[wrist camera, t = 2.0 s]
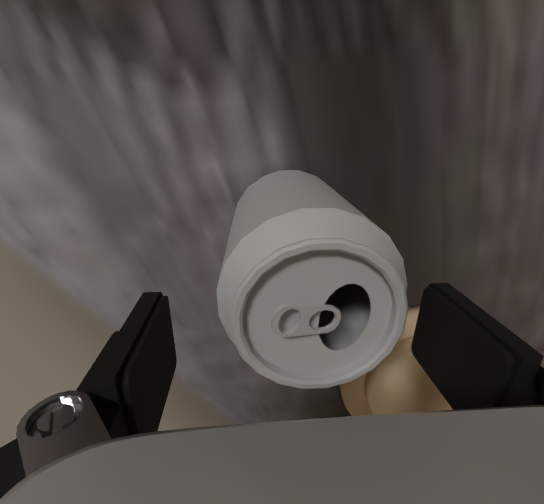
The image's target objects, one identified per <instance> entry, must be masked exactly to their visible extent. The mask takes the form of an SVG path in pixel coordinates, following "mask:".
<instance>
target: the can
mask: <svg viewBox="0 0 544 504" xmlns="http://www.w3.org/2000/svg"><path fill="white" fill-rule="evenodd" d="M406 289H407V280H406V274H405V268H404V262H403V258H402V257H401V255H400V253H399V252H398V250H397V248H396V247H395V245H394V243H393V242H392V240H391V239H390V237H389V235H387V234H386V233H385V232H384V231H383V230H381V229H380V228H379V227H378V226H377V225H375V224H374V223H373V222H372V221H371V220H369V219H368V218H367V217H366V216H365V215H363V214H362V213H361V212H360V211H359V210H357V209H356V208H355V207H354V206H353V205H351V204H350V203H349V202H348V201H347V200H345V199H344V198H343V197H342V196H341V195H339V194H338V193H337V192H336V191H335V190H333V189H332V188H331V187H330V186H328V185H327V184H326V183H325V182H323V181H322V180H321V179H319V178H318V177H317V176H315V175H312V174H309V173H306V172H302V171H299V170H280V171H277V172H274V173H271V174H268V175H265V176H263V177H261V178H260V179H259V180H257V181H256V182H255V183H253V184H252V185H251V186H249V187H248V188H247V190H246V191H245V192H244V194H243V195H242V197H241V198H240V200H239V201H238V203H237V207H236V210H235V214H234V217H233V221H232V225H231V230H230V234H229V238H228V243H227V247H226V251H225V256H224V260H223V264H222V269H221V273H220V277H219V281H218V286H217V301H218V314H219V318H220V320H221V322H222V324H223V326H224V328H225V330H226V332H227V334H228V336H229V339H230V340H231V341H232V342H233V343H234V344H235V345H236V347H237V349H238V351H239V353H240V355H241V357H242V358H243V359H244V360H245V361H246V362H247V363H248V364H249V365H250V366H251V367H252V368H253V369H254V370H255V371H256V372H257V373H258V374H260V375H262V376H264V377H266V378H268V379H270V380H272V381H274V382H276V383H278V384H281V385H286V386H291V387H296V388H301V389H313V388H329V387H333V386H336V385H340V384H343V383H347V382H350V381H353V380H355V379H356V378H358V377H360V376H362V375H363V374H365V373H367V372H369V371H371V370H372V369H374V368H375V367H376V366H377V365H378V364H379V363H380V362H381V361H382V360H383V359H384V358H386V357H387V356H388V355H389V354H390V353H391V352H392V350H393V348H394V347H395V345H396V343H397V342H398V340H399V338H400V336H401V335H402V333H403V331H404V327H405V322H406V317H407V312H408V302H407V296H406Z"/></svg>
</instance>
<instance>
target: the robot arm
mask: <svg viewBox="0 0 544 504" xmlns="http://www.w3.org/2000/svg"><path fill="white" fill-rule="evenodd" d="M411 351H412V354H413V356H414V357H415V359H416V360H417V362H418V363H419V364H420V366H421V367H422V368H423V370H424V371H425V372H426V374H427V375H428V376H429V378H430V379H431V381H432V382H433V383H434V385H435V386H436V387H437V389H438V390H439V391H440V393H441V394H442V395H443V397H444V398H445V400H446V401H447V402H448V404H449V405H450V406H451V408H452V409H453V410H442V411H425V412H409V413H393V414H378V415H363V416H348V417H333V418H318V419H304V420H290V421H276V422H262V423H248V424H234V425H221V426H209V427H194V428H184V429H175V430H166V431H157V430H158V427H159V423H160V420H161V416H162V413H163V409H164V406H165V402H166V399H167V396H168V392H169V389H170V386H171V382H172V379H173V375H174V372H175V368H176V351H175V344H174V337H173V329H172V322H171V315H170V308H169V300H168V297H167V296H163V295H162V293H161V292H145V293H143V294H142V296H141V297H140V299H139V300H138V302H137V304H136V305H135V307H134V308H133V310H132V312H131V313H130V315H129V317H128V318H127V320H126V321H125V323H124V325H123V326H122V328H121V329H120V331H116V332H114V333H113V334H112V336H111V337H110V339H109V340H108V342H107V344H106V345H105V347H104V348H103V350H102V351H101V353H100V354H99V356H98V357H97V359H96V361H95V362H94V364H93V365H92V367H91V368H90V370H89V371H88V373H87V374H86V376H85V378H84V379H83V381H82V382H81V384H80V385H79V387H78V388H77V390H76V391H66V392H61V393H57V394H55V395H52V396H50V397H48V398H46V399H44V400H42V401H41V402H39V403H38V404H36V405H35V406H34V407H32V408H31V409H30V410H29V411H28V412H27V413H26V414H25V415H24V416H23V418H22V419H21V420H20V422H19V424H18V426H17V432H16V436H17V439H15V440H13V441H12V442H10V443H8V444H6V445H5V446H3V447H1V448H0V504H544V368H542V367H541V366H540V364H541V362H542V359H543V357H544V356H543V355H541V354H540V353H539V352H537V351H536V350H535V349H533V348H532V347H531V346H530V345H528V344H527V343H526V342H524V341H523V340H522V339H520V338H519V337H518V336H516V335H515V334H514V333H513V332H511V331H510V330H509V329H507V328H506V327H505V326H503V325H502V324H501V323H499V322H498V321H497V320H496V319H494V318H493V317H492V316H490V315H489V314H488V313H486V312H485V311H484V310H482V309H481V308H480V307H479V306H477V305H476V304H475V303H473V302H472V301H471V300H469V299H468V298H467V297H465V296H464V295H463V294H462V293H460V292H459V291H458V290H456V289H455V288H454V287H452V286H451V285H450V284H448V283H431V284H429V286H428V287H426V288H425V289H424V291H423V295H422V300H421V304H420V309H419V313H418V318H417V322H416V327H415V331H414V336H413V340H412V345H411Z"/></svg>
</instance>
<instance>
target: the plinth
mask: <svg viewBox="0 0 544 504" xmlns="http://www.w3.org/2000/svg"><path fill="white" fill-rule="evenodd" d="M419 309H420V306H415V307H409V308H408V312H407V317H406V322H405V327H404V331H403V333H402V335H401V336H400V338H399V340H398V342H397V343H396V345H395V347H394V348H393V350H392V352H391V353H390V354H389V355H388V356H387V357H386V358H384V359H383V360H382V361H381V362H380V363H379V364H378V365H377V366H376V367H375V368H374V369H372V370H371V371H369V372H367V373H365V374H363V375H362V376H360V377H358V378H356V379H355V380H353V381H350V382H347V383H343V384H340V385H339V389H340V392H341V396H342V399H343V402H344V405H345V407H346V408H347V410H348V412H349V413H350V414H351V416H363V415H378V414H393V413H409V412H425V411H442V410H453V409H452V408H451V406H450V405H449V404H448V402H447V401H446V400H445V398H444V397H443V395H442V394H441V393H440V391H439V390H438V389H437V387H436V386H435V385H434V383H433V382H432V381H431V379H430V378H429V376H428V375H427V374H426V372H425V371H424V370H423V368H422V367H421V366H420V364H419V363H418V362H417V360H416V359H415V357H414V356H413V354H412V351H411V345H412V340H413V336H414V331H415V327H416V322H417V318H418V313H419Z"/></svg>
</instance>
